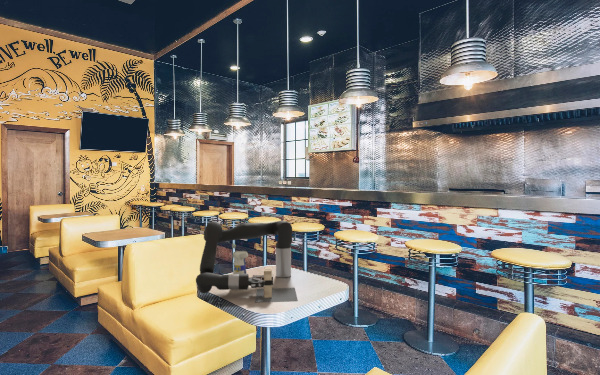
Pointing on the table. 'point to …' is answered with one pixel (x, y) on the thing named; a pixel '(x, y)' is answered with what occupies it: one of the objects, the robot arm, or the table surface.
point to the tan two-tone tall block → (267, 287)
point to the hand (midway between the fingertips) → (272, 280)
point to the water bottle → (239, 261)
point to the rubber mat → (277, 295)
